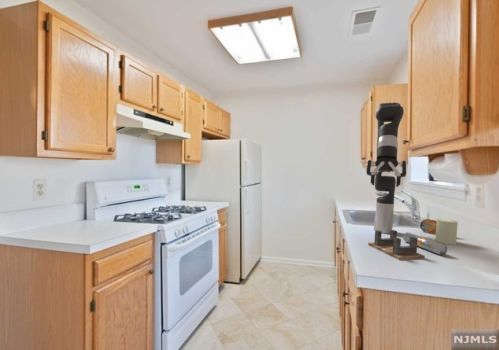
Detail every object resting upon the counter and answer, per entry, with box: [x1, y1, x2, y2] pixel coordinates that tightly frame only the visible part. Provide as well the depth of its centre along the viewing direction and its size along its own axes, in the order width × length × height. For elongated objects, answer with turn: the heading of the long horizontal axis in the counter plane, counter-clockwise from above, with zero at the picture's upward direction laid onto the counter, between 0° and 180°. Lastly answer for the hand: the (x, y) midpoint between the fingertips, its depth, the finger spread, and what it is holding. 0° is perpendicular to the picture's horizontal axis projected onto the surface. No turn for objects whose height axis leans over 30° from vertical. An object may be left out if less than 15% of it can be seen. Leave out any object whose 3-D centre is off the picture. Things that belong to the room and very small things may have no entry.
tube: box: [402, 232, 448, 256], centre depth 128 cm, size 20×5×5 cm, turn 12°
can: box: [434, 218, 459, 245], centre depth 140 cm, size 9×9×12 cm
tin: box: [419, 218, 437, 236], centre depth 155 cm, size 15×3×8 cm, turn 33°
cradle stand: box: [367, 229, 426, 261], centre depth 122 cm, size 20×13×8 cm, turn 12°
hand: (384, 185), depth 106 cm, fingers open, 8 cm apart
